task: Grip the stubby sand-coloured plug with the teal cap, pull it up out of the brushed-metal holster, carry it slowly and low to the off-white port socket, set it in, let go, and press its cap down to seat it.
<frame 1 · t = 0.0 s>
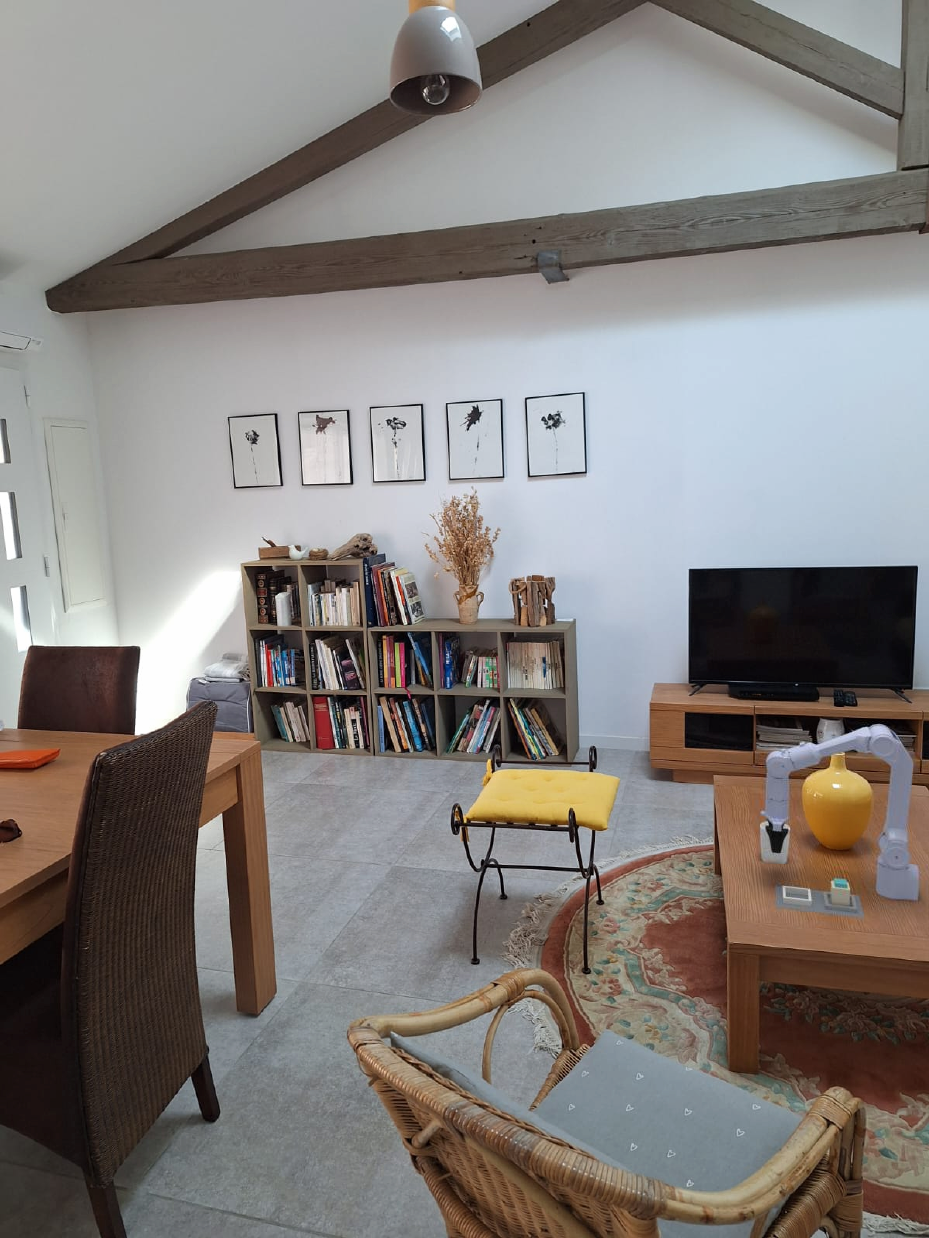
hand: (775, 846, 223), 10 cm above the table, tool pointing down, fingers open, 7 cm apart
holster: (839, 907, 210), resting on panel plate
port: (796, 902, 213), resting on panel plate
white cup: (774, 860, 238), on the table
plug: (839, 903, 210), point 1 cm above the table, touching panel plate
panel plate: (817, 904, 212), on the table
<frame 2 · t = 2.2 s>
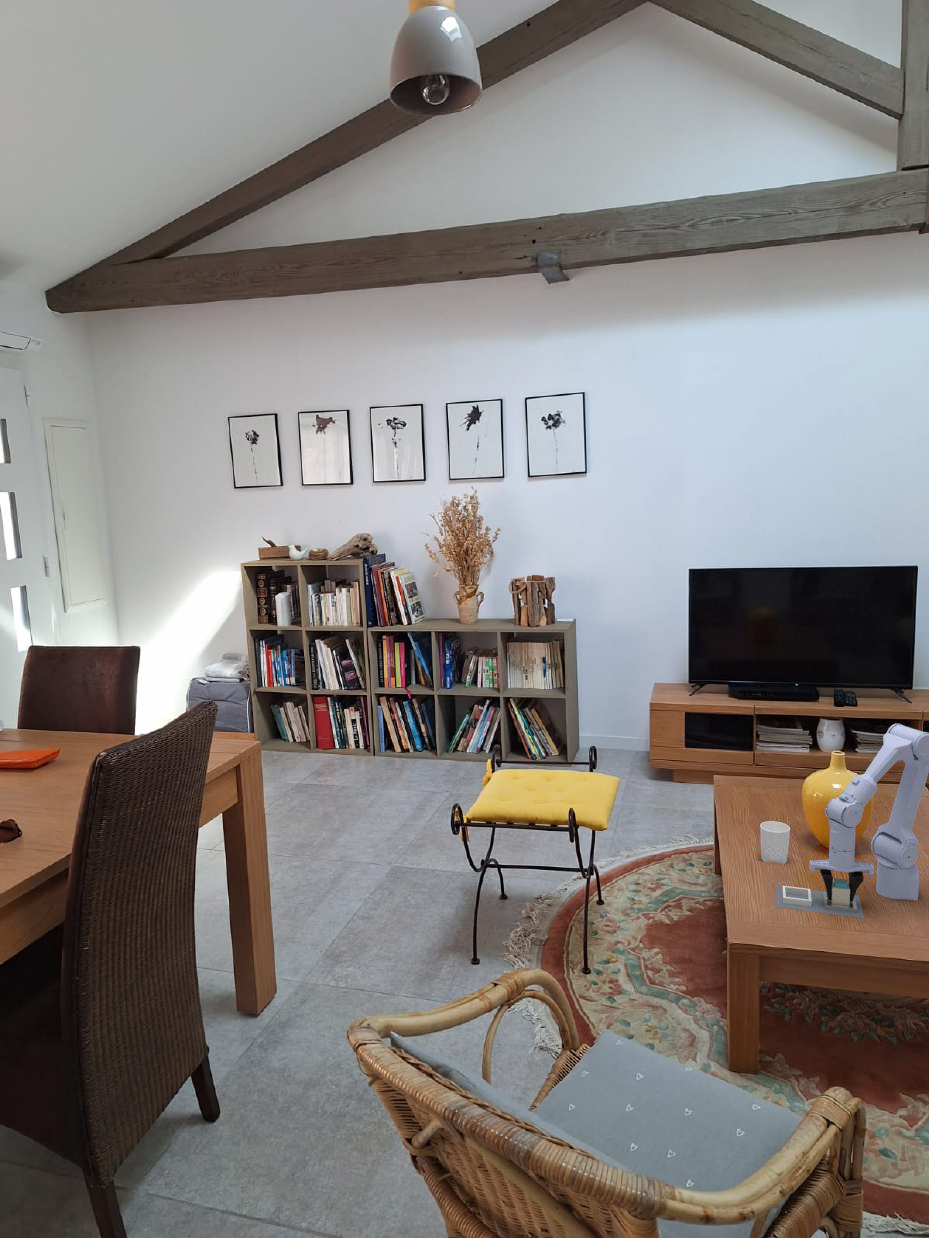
hand: (839, 898, 210), 2 cm above the table, tool pointing down, fingers closed on plug, 4 cm apart
plug: (839, 903, 210), point 1 cm above the table, touching gripper, panel plate
everything else where it was.
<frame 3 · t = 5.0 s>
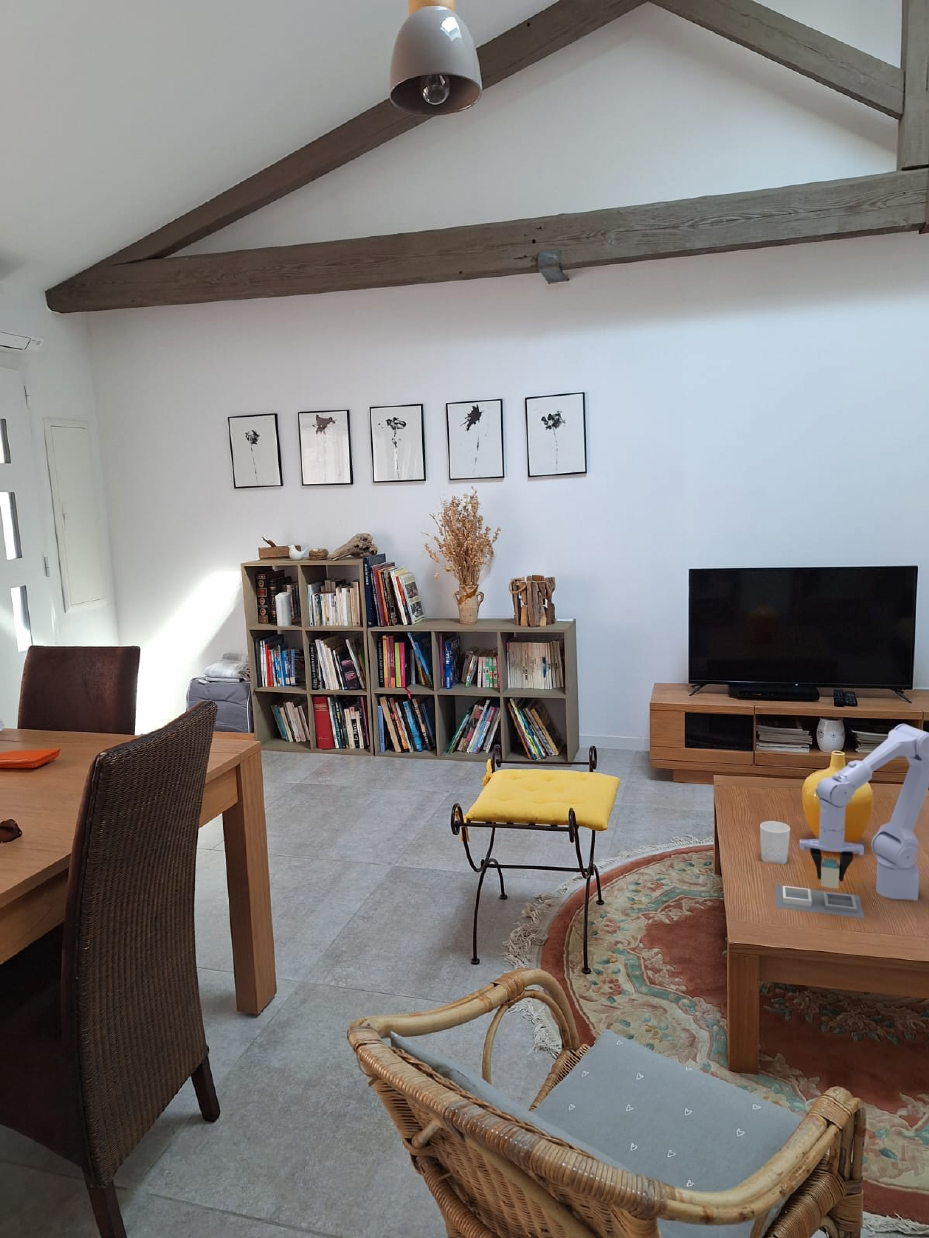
hand: (829, 878, 210), 7 cm above the table, tool pointing down, fingers closed on plug, 4 cm apart
plug: (829, 883, 210), point 6 cm above the table, touching gripper
everything else where it was.
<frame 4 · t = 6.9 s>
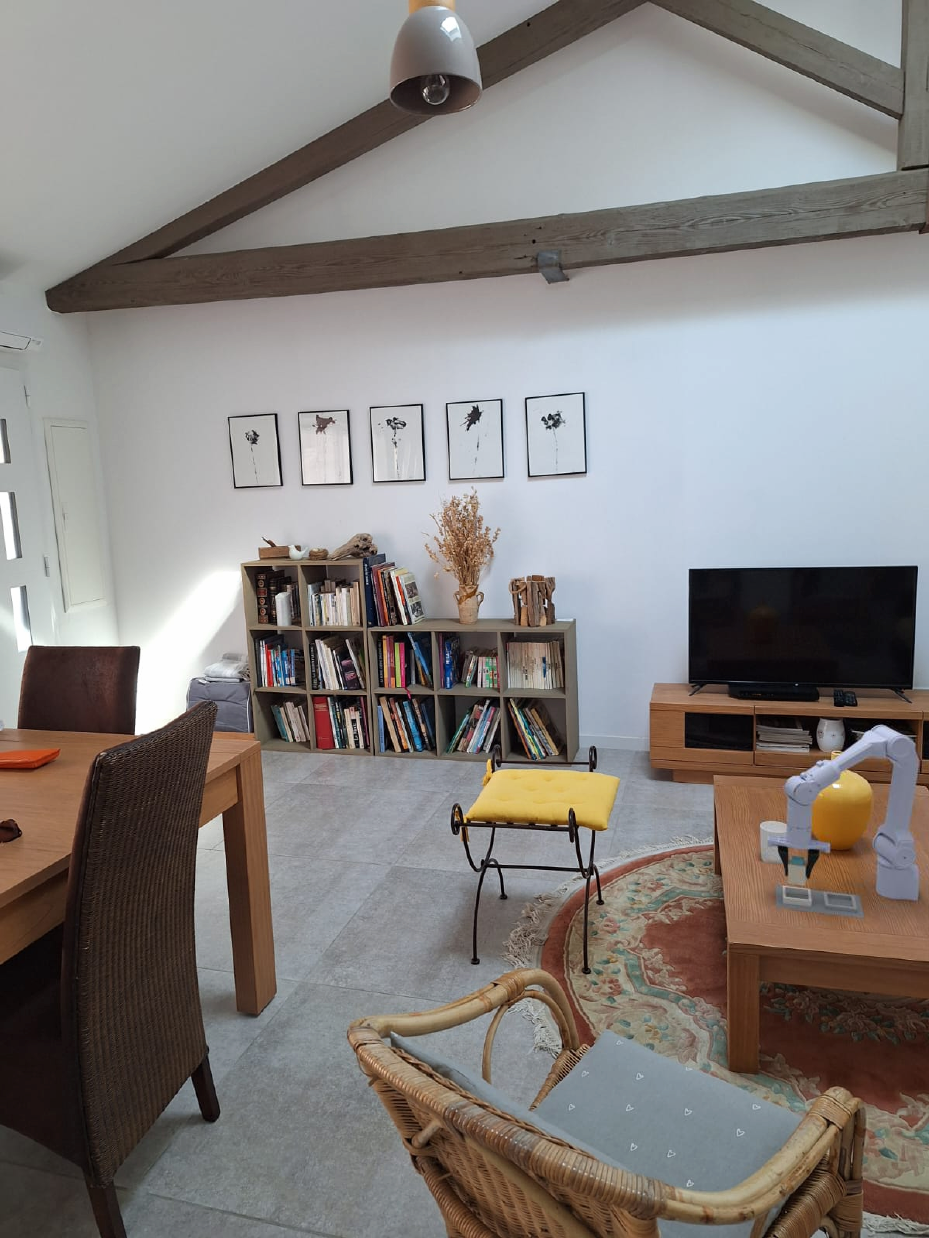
hand: (797, 875, 212), 7 cm above the table, tool pointing down, fingers closed on plug, 4 cm apart
plug: (797, 880, 213), point 6 cm above the table, touching gripper
everything else where it was.
when the fingers open (3 cm above the table, at t = 8.2 s): plug stays where it is, resting on panel plate.
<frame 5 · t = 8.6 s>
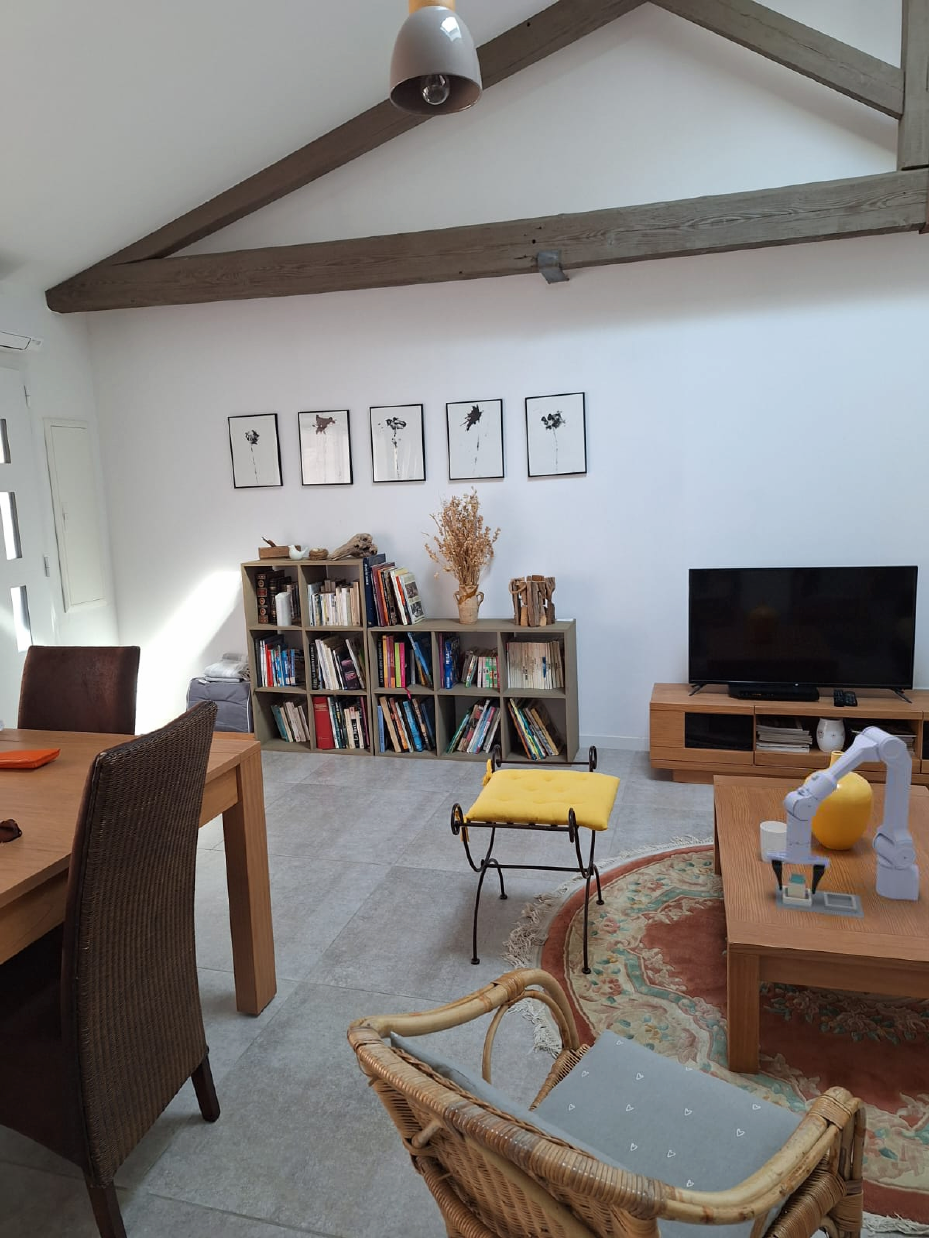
hand: (796, 890, 213), 3 cm above the table, tool pointing down, fingers open, 7 cm apart
plug: (796, 898, 213), point 1 cm above the table, touching panel plate
everything else where it was.
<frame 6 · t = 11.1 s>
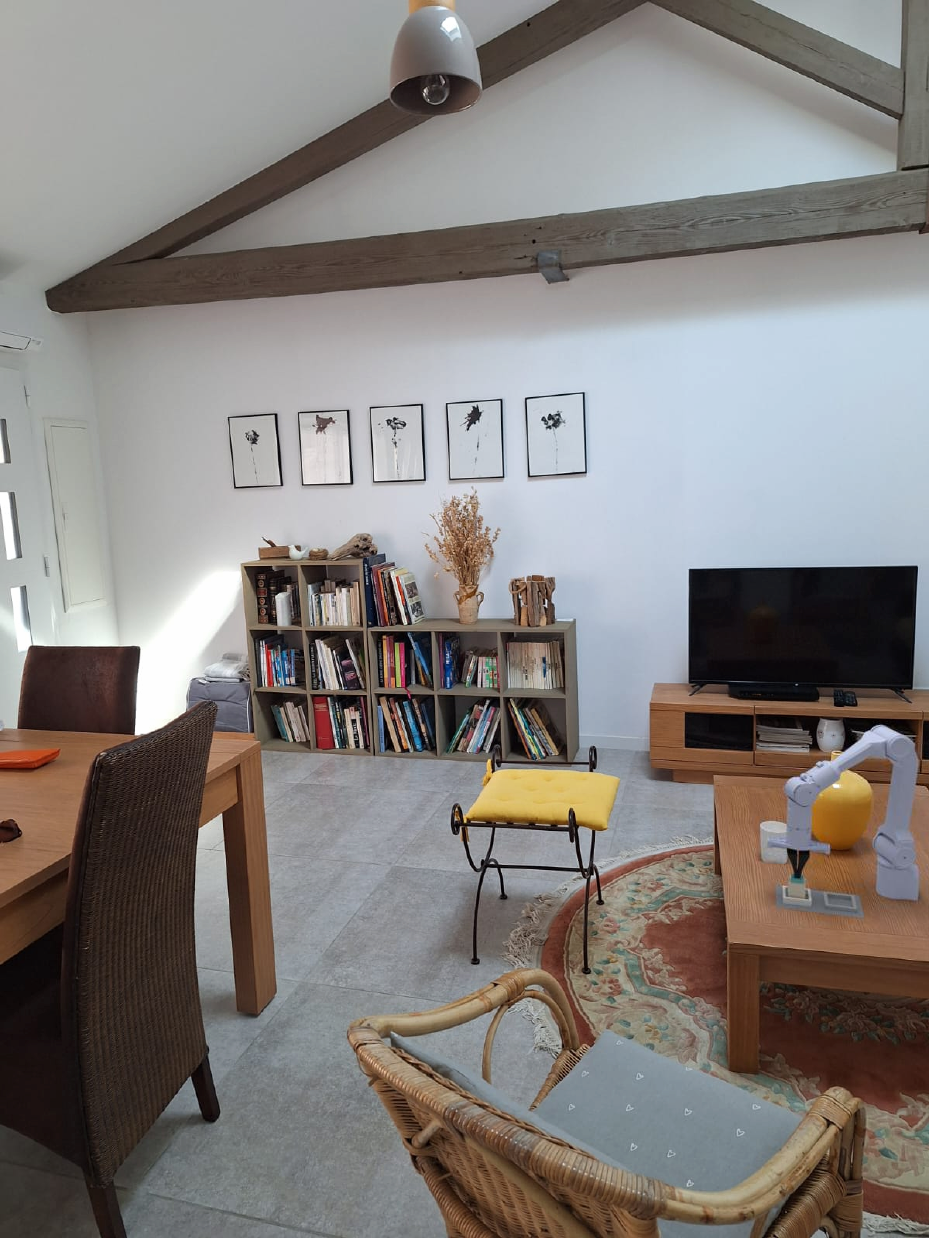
hand: (797, 876, 212), 7 cm above the table, tool pointing down, fingers closed, pressing on plug
plug: (796, 898, 213), point 1 cm above the table, touching gripper, panel plate
everything else where it was.
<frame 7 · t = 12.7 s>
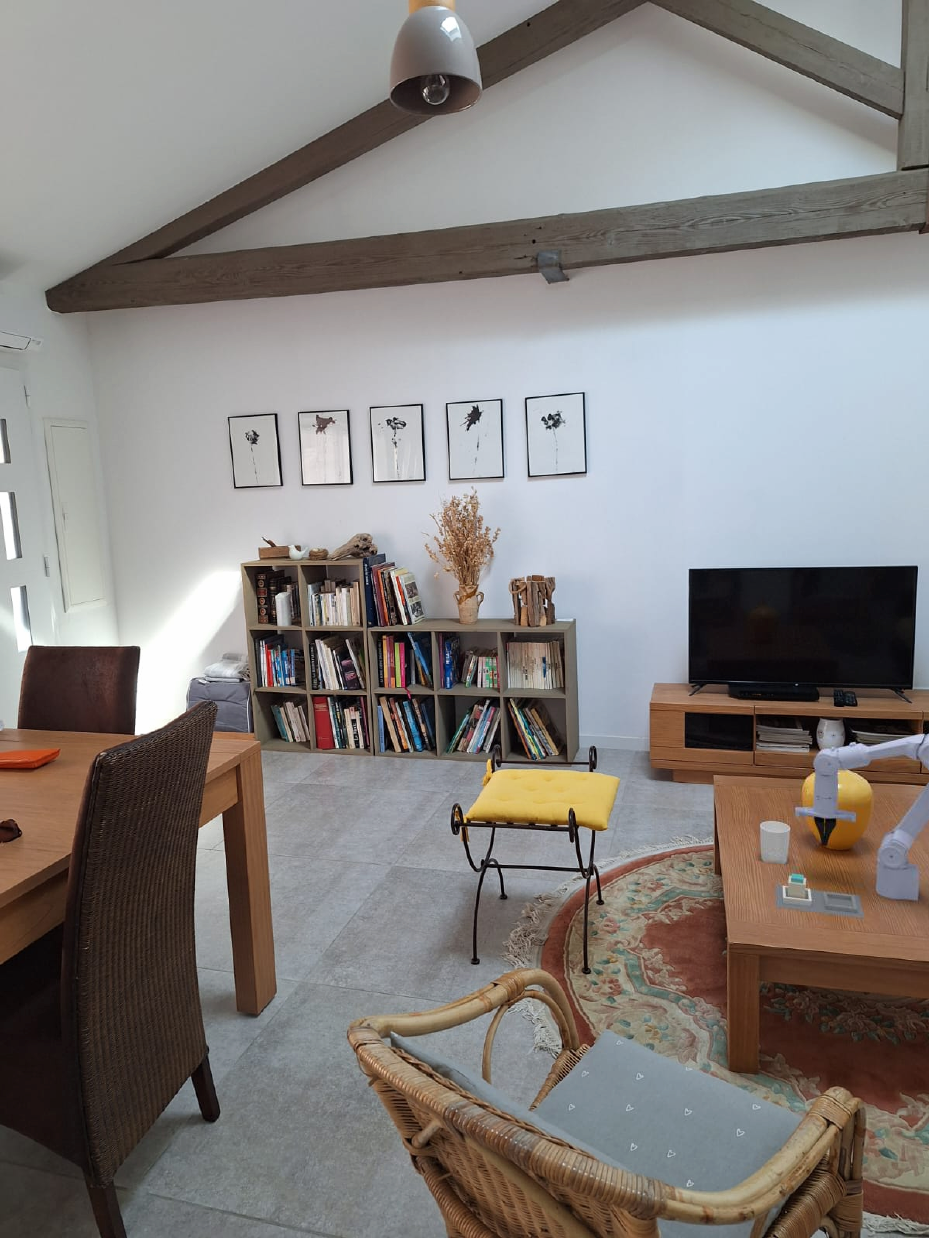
hand: (824, 844, 223), 10 cm above the table, tool pointing down, fingers closed
plug: (796, 898, 213), point 1 cm above the table, touching panel plate
everything else where it was.
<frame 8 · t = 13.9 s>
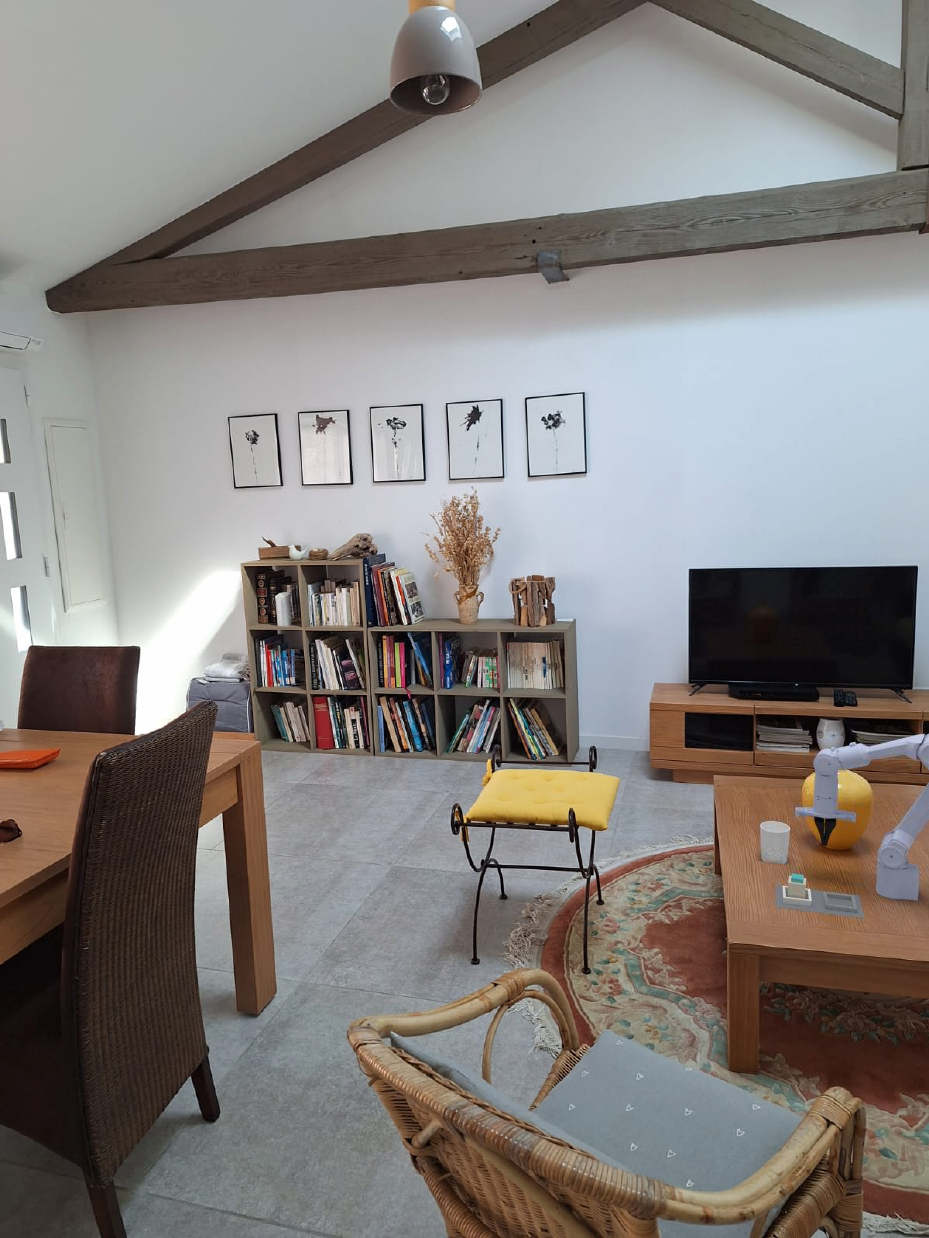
hand: (824, 844, 223), 10 cm above the table, tool pointing down, fingers closed
nothing on the table moved.
at the end: plug 0.0 cm off-centre on the port, point 1.0 cm above the port's base; plug tilted 0°; the gripper is holding nothing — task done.
